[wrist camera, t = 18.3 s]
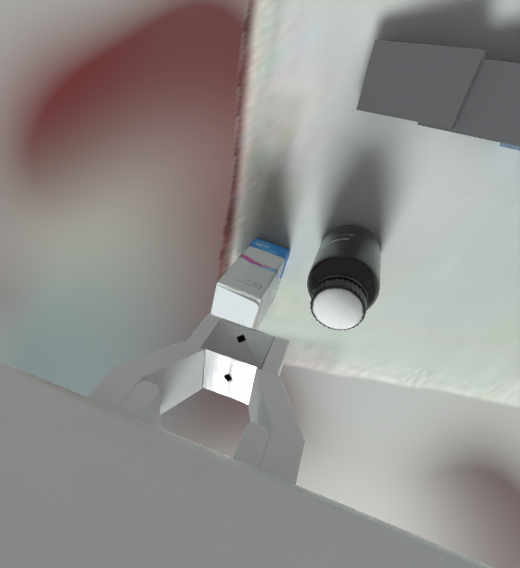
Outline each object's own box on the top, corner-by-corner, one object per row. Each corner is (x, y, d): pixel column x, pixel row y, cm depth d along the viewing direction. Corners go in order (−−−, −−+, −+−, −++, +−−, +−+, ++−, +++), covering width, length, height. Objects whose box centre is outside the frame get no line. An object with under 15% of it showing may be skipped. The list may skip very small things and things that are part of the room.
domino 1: (382, 43, 27) (487, 53, 23) (363, 109, 29) (454, 127, 26) (375, 39, 25) (485, 49, 22) (356, 109, 28) (451, 128, 25)
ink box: (254, 235, 40) (214, 281, 30) (291, 249, 39) (263, 300, 29) (240, 287, 44) (203, 342, 35) (273, 301, 44) (244, 359, 34)
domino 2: (447, 57, 26) (564, 71, 23) (421, 124, 29) (522, 145, 25) (444, 54, 24) (568, 69, 21) (417, 124, 27) (523, 147, 24)
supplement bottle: (340, 212, 35) (325, 259, 25) (393, 243, 35) (399, 302, 25) (309, 258, 39) (286, 314, 29) (357, 286, 39) (349, 351, 29)
